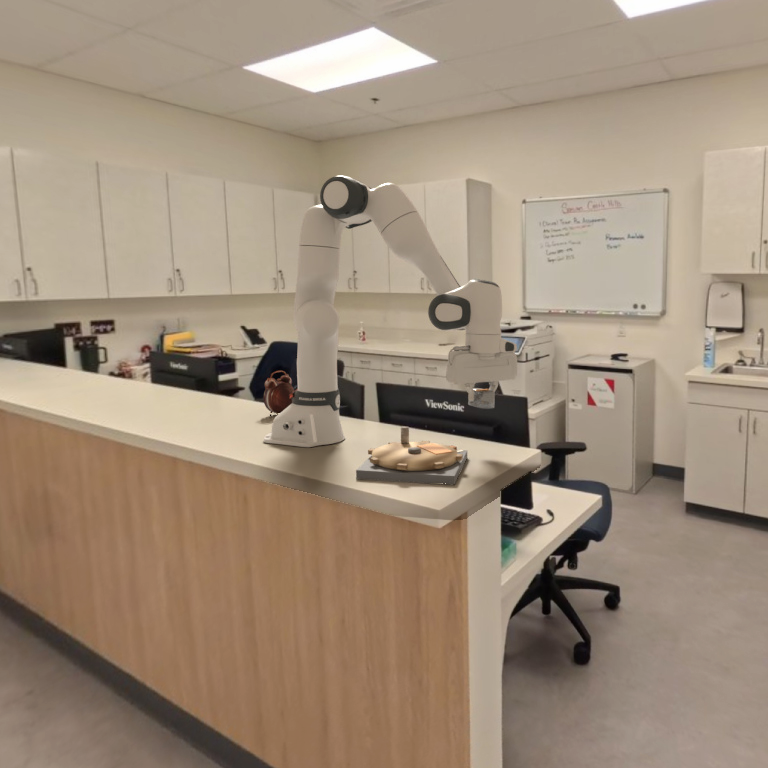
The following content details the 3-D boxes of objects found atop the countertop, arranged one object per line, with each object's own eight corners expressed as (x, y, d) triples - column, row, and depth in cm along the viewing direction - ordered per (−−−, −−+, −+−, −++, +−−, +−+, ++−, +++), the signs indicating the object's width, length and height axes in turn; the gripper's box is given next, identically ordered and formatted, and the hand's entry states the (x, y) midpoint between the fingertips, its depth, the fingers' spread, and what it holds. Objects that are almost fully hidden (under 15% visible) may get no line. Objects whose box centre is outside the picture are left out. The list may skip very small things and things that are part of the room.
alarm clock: (287, 411, 220) (285, 368, 218) (297, 413, 217) (295, 369, 215) (262, 417, 212) (260, 372, 209) (272, 418, 209) (270, 373, 206)
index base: (356, 478, 142) (356, 469, 142) (381, 453, 164) (381, 445, 163) (454, 485, 137) (454, 475, 137) (467, 458, 158) (467, 449, 158)
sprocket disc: (353, 468, 143) (352, 444, 142) (383, 444, 164) (383, 423, 163) (452, 475, 136) (452, 450, 135) (470, 449, 157) (470, 427, 156)
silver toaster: (497, 407, 159) (498, 391, 159) (484, 409, 157) (485, 392, 157) (477, 402, 166) (478, 386, 166) (465, 404, 164) (465, 387, 164)
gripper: (456, 347, 152) (455, 404, 154) (522, 344, 162) (519, 398, 164) (441, 345, 157) (440, 400, 159) (505, 342, 167) (503, 394, 169)
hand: (481, 399), depth 162 cm, fingers closed on silver toaster, 4 cm apart
